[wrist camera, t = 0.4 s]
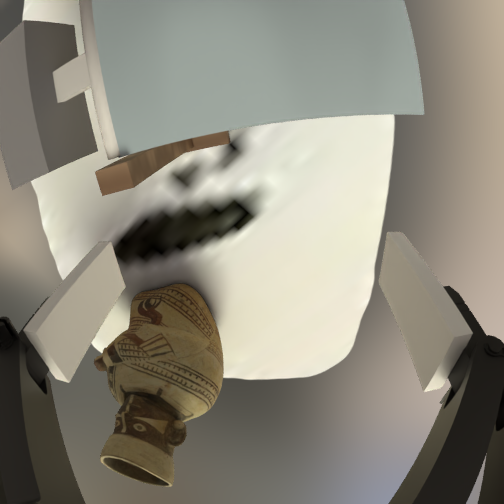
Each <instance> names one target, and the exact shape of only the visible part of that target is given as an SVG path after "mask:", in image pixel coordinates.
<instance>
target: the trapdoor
mask: <svg viewBox="0 0 504 504" xmlns="http://www.w3.org/2000/svg"><path fill="white" fill-rule="evenodd" d="M79 3H80V15H81V25H82V33H83V41H84V48H85V53H83V54H81V55H80V56H78V52H77V45H76V37H75V28H74V25H68V24H60V23H51V22H41V21H27V20H24V21H23V22H21V23H20V24H19V25H18V26H17V27H16V28H15V29H14V30H13V31H12V32H11V33H10V34H9V35H8V36H6V37H5V38H4V39H3V40H2V41H1V42H0V147H1V151H2V155H3V159H4V163H5V167H6V170H7V173H8V177H9V180H10V184H11V187H12V190H13V189H15V188H17V187H19V186H21V185H23V184H25V183H27V182H29V181H32V180H34V179H36V178H38V177H40V176H42V175H44V174H47V173H49V172H51V171H53V170H55V169H57V168H60V167H62V166H64V165H66V164H68V163H71V162H73V161H75V160H77V159H80V158H82V157H85V156H87V155H89V154H92V153H94V152H97V151H98V149H97V145H96V141H95V137H94V133H93V129H92V125H91V121H90V117H89V112H88V108H87V103H86V98H85V93H84V91H86V90H88V89H90V88H91V89H92V94H93V99H94V104H95V109H96V113H97V117H98V122H99V126H100V130H101V134H102V138H103V142H104V146H105V150H106V153H107V157H108V160H110V159H113V158H116V157H119V158H120V157H123V156H126V155H130V154H133V153H136V152H140V151H143V150H147V149H150V148H154V147H158V146H162V145H165V144H169V143H173V142H177V141H182V140H186V139H190V138H195V137H199V136H204V135H208V134H213V133H218V132H223V131H229V130H234V129H240V128H246V127H252V126H258V125H264V124H271V123H279V122H286V121H295V120H303V119H313V118H324V117H337V116H354V115H381V114H417V115H424V105H423V95H422V87H421V79H420V72H419V66H418V60H417V54H416V49H415V44H414V39H413V34H412V30H411V25H410V21H409V17H408V13H407V9H406V6H405V2H404V0H79Z"/></svg>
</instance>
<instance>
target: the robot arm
mask: <svg viewBox="0 0 504 504" xmlns="http://www.w3.org/2000/svg"><path fill="white" fill-rule="evenodd" d="M379 284H380V286H381V288H382V290H383V293H384V295H385V297H386V299H387V301H388V304H389V306H390V308H391V310H392V313H393V315H394V317H395V320H396V322H397V324H398V327H399V329H400V331H401V334H402V336H403V338H404V341H405V343H406V346H407V348H408V351H409V353H410V356H411V359H412V361H413V364H414V366H415V369H416V372H417V374H418V377H419V380H420V383H421V386H422V388H423V391H424V392H426V391H431V390H435V389H439V388H441V387H442V386H443V385H444V383H445V382H446V380H447V378H448V379H449V381H450V383H451V387H450V388H449V390H448V391H447V393H446V394H445V396H444V397H443V398H442V400H441V401H440V403H441V404H442V403H443V404H442V407H441V409H440V411H439V414H438V416H437V418H436V420H435V423H434V425H433V427H432V429H431V431H430V434H429V435H428V438H427V439H426V442H425V443H424V445H423V447H422V449H421V452H420V453H419V455H418V457H417V459H416V460H415V462H414V464H413V466H412V467H411V469H410V471H409V473H408V474H407V476H406V478H405V479H404V481H403V482H402V484H401V486H400V487H399V489H398V490H397V492H396V493H395V495H394V497H393V498H392V499H391V501H390V502H389V504H466V502H467V500H468V498H469V496H470V493H471V491H472V489H473V487H474V484H475V482H476V479H477V477H478V475H479V472H480V469H481V467H482V464H483V461H484V459H485V456H486V462H485V469H484V476H483V481H482V486H481V491H480V496H479V501H478V504H504V343H503V342H502V341H501V340H500V339H498V338H496V337H494V336H490V335H488V336H486V334H485V333H484V331H483V329H482V328H481V326H480V324H479V323H478V322H477V320H476V318H475V317H474V315H473V314H472V312H471V311H469V308H468V306H467V305H466V304H465V302H464V300H463V299H462V297H461V296H460V295H459V293H457V292H456V291H455V290H454V289H452V288H451V287H450V286H445V287H443V286H442V284H441V283H440V282H439V280H438V279H437V277H436V276H435V275H434V273H433V272H432V270H431V269H430V268H429V266H428V265H427V264H426V262H425V261H424V260H423V258H422V257H421V256H420V254H419V253H418V252H417V250H416V249H415V248H414V247H413V245H412V244H411V243H410V242H409V240H408V239H407V238H406V237H405V235H404V234H403V233H402V232H388V233H387V237H386V243H385V250H384V256H383V261H382V267H381V273H380V277H379ZM125 287H126V286H125V283H124V281H123V278H122V275H121V272H120V269H119V266H118V262H117V259H116V256H115V253H114V250H113V246H112V243H111V241H109V242H99V243H98V244H97V245H96V246H95V247H94V248H93V249H92V250H91V251H90V252H89V253H88V254H87V255H86V256H85V257H84V258H83V259H82V260H81V262H80V263H79V264H78V265H77V266H76V267H75V268H74V269H73V270H72V271H71V273H70V274H69V275H68V276H67V277H66V278H65V279H64V280H63V282H62V283H61V284H60V285H59V286H58V287H57V289H56V290H55V291H54V292H53V293H52V294H51V296H49V297H48V298H47V299H46V300H45V301H44V302H43V303H42V304H41V306H40V308H38V309H37V311H36V312H35V314H33V316H32V317H31V318H30V319H29V321H28V322H27V323H26V325H25V326H24V327H23V329H22V330H21V331H20V333H19V334H18V333H17V331H16V329H15V328H14V326H13V324H12V323H11V321H10V319H9V318H7V317H1V318H0V504H85V501H84V499H83V497H82V494H81V492H80V489H79V487H78V484H77V481H76V479H75V476H74V473H73V470H72V467H71V464H70V461H69V458H68V455H67V452H66V448H65V445H64V441H63V438H62V434H61V430H60V426H59V422H58V418H57V414H56V409H55V405H54V400H53V395H52V390H51V384H50V380H49V378H48V376H47V373H48V371H49V370H50V371H51V372H52V374H53V375H54V377H55V378H56V379H58V380H62V381H65V382H70V380H71V378H72V377H73V375H74V373H75V371H76V369H77V367H78V365H79V364H80V362H81V360H82V358H83V356H84V355H85V353H86V351H87V349H88V348H89V345H90V344H91V342H92V341H93V339H94V337H95V335H96V334H97V332H98V330H99V329H100V327H101V325H102V324H103V322H104V320H105V319H106V317H107V315H108V314H109V312H110V311H111V309H112V307H113V306H114V304H115V303H116V301H117V299H118V298H119V296H120V295H121V293H122V292H123V290H124V288H125ZM486 453H487V455H486Z"/></svg>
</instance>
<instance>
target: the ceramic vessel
mask: <svg viewBox="0 0 504 504" xmlns="http://www.w3.org/2000/svg"><path fill="white" fill-rule="evenodd" d="M94 364H95V366H96V368H97V369H98V370H99V371H107V376H108V385H109V389H110V391H111V393H112V395H113V396H114V398H115V399H116V401H117V402H118V403H119V404H120V405H121V408H120V409H119V411H118V413H117V414H116V415H115V416H116V422H115V429H114V433H113V434H112V435H111V436H110V437H109V438H108V440H107V442H106V443H105V445H104V447H103V449H102V452H101V455H100V461H101V462H102V463H103V464H104V465H105V466H107V467H108V468H110V469H111V470H113V471H115V472H117V473H119V474H122V475H124V476H126V477H129V478H132V479H134V480H137V481H140V482H143V483H148V484H152V485H156V486H165V487H166V486H167V487H169V486H172V485H173V480H174V462H173V457H172V456H173V452H174V448H175V446H179V445H181V444H182V443H183V442H184V440H185V438H186V425H185V424H184V423H183V422H185V421H188V420H190V419H192V418H196V417H198V416H200V415H202V414H204V413H205V412H207V411H208V410H209V409H210V408H211V407H212V406H213V404H214V403H215V401H216V399H217V397H218V395H219V392H220V389H221V385H222V380H223V352H222V346H221V340H220V336H219V332H218V329H217V326H216V323H215V321H214V319H213V317H212V315H211V313H210V311H209V309H208V307H207V305H206V303H205V301H204V300H203V298H202V297H201V295H200V294H199V293H198V292H197V291H196V290H194V289H193V288H192V287H190V286H188V285H185V284H173V285H170V286H167V287H164V288H161V289H157V290H151V291H145V292H141V293H139V294H137V295H136V296H135V297H134V298H133V300H132V304H131V312H130V324H129V328H128V330H126V331H124V332H123V333H121V334H120V335H119V336H118V337H117V338H116V339H115V340H114V341H113V342H112V343H111V344H110V345H109V346H108V347H107V348H104V350H103V353H102V355H101V356H98V357H97V358H96V359H95V360H94Z"/></svg>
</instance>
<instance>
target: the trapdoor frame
mask: <svg viewBox="0 0 504 504" xmlns="http://www.w3.org/2000/svg"><path fill="white" fill-rule="evenodd" d="M229 143H230V138H229V133H228V131H223V132H218V133H213V134H208V135H204V136H199V137H195V138H190V139H186V140H182V141H177V142H173V143H169V144H165V145H162V146H158V147H154V148H150V149H147V150H143V151H140V152H136V153H133V154H130V155H128V156H126V157H124V158H122V159H120V160H118V161H116V162H114V163H112V164H110V165H108V166H106V167H104V168H102V169H100V170H98V171H96V172H95V174H96V177H97V180H98V183H99V187H100V190H101V193H102V196H104V195H107V194H111V193H115V192H118V191H122V190H126V189H130V188H134V187H135V186H137V185H138V184H139V183H141V182H142V181H144V180H145V179H146V178H148V177H149V176H151V175H152V174H154V173H155V172H156V171H158V170H159V169H161V168H162V167H164V166H165V165H167V164H168V163H170V162H171V161H173V160H174V159H176V158H177V157H179V156H180V155H182V154H183V153H186V152H190V151H195V150H199V149H204V148H209V147H213V146H218V145H224V144H229Z"/></svg>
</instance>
